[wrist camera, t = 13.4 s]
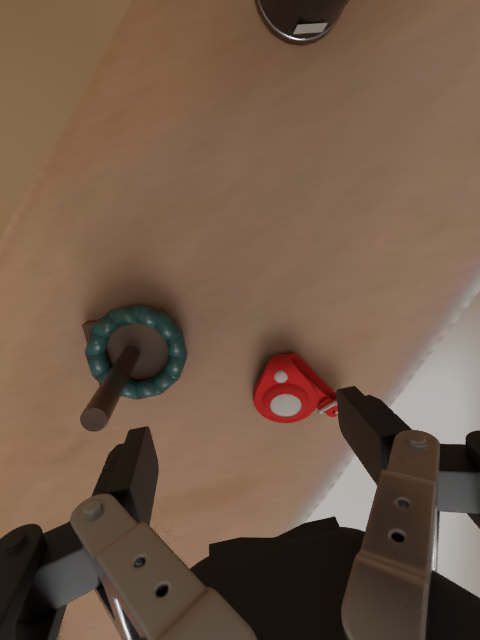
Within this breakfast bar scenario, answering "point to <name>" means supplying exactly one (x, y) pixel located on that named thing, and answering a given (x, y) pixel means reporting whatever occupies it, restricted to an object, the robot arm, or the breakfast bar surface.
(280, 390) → the tracker holder
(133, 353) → the brown peg stand
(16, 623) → the robot arm
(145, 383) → the ring
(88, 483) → the breakfast bar surface
